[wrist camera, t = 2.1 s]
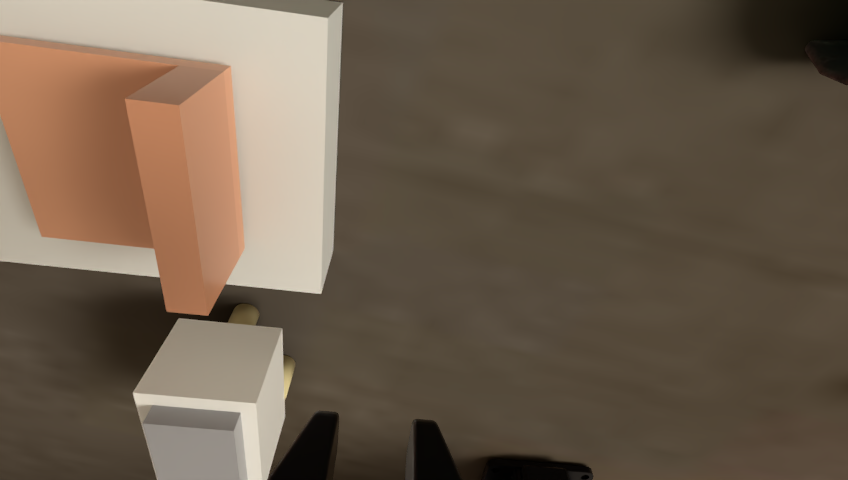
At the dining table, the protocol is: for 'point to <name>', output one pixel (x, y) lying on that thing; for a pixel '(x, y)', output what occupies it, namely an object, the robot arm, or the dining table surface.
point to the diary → (830, 58)
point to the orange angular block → (129, 157)
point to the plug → (215, 399)
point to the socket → (254, 120)
